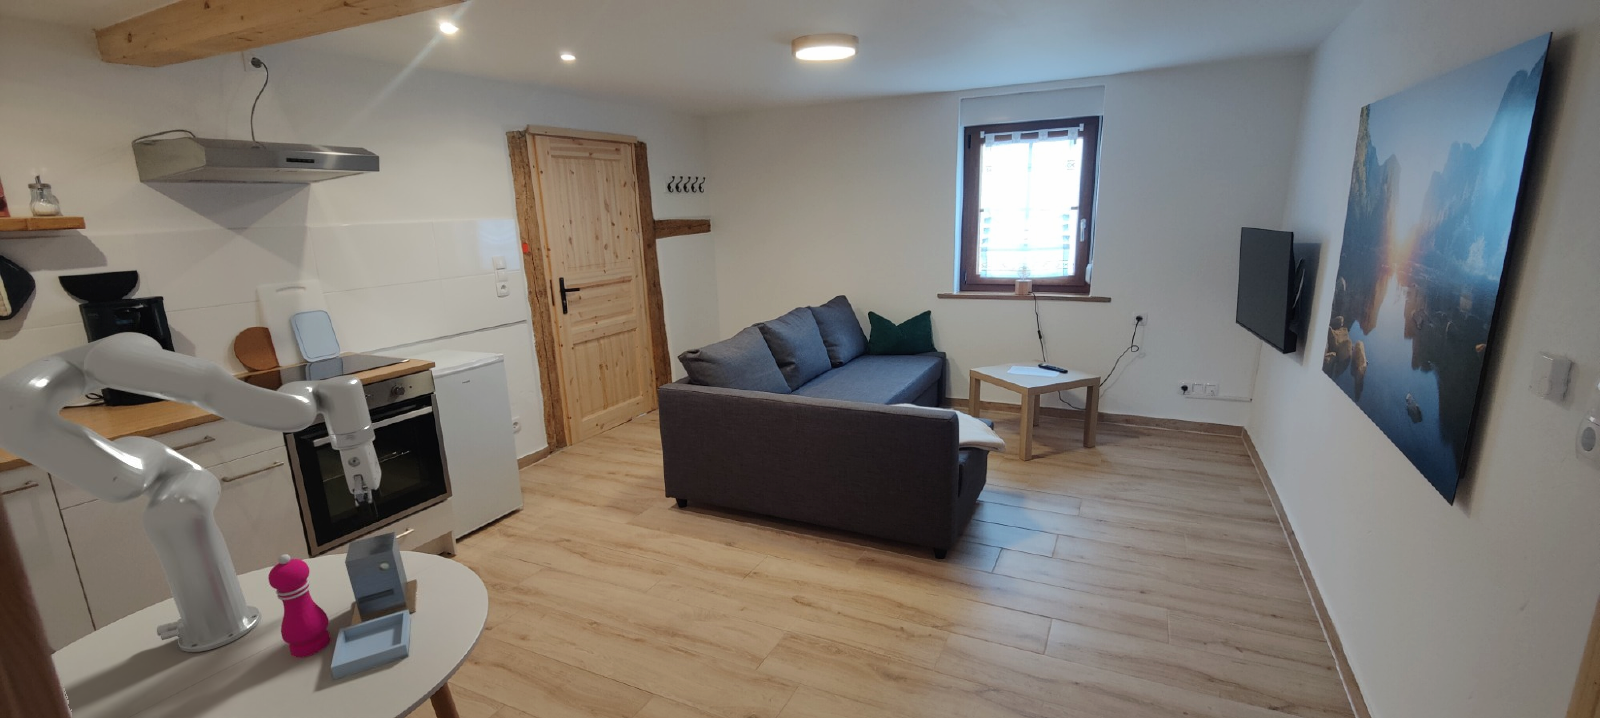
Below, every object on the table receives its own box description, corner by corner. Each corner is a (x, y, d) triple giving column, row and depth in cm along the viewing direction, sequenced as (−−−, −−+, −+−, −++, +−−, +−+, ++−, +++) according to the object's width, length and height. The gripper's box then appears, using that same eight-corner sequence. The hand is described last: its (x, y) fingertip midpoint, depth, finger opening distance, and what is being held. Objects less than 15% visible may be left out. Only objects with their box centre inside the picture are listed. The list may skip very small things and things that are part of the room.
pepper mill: (310, 661, 124) (281, 567, 118) (278, 657, 125) (247, 564, 119) (343, 635, 130) (316, 545, 125) (312, 631, 132) (284, 542, 126)
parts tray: (334, 679, 119) (330, 667, 118) (342, 640, 129) (339, 629, 128) (408, 656, 124) (405, 644, 123) (411, 620, 134) (408, 609, 133)
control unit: (352, 629, 132) (334, 568, 128) (358, 599, 141) (342, 541, 137) (415, 611, 137) (400, 551, 132) (417, 583, 146) (403, 526, 142)
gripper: (369, 446, 132) (389, 523, 137) (377, 418, 147) (394, 489, 151) (324, 455, 128) (345, 533, 133) (336, 426, 143) (355, 497, 148)
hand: (371, 510), depth 142 cm, fingers open, 9 cm apart
